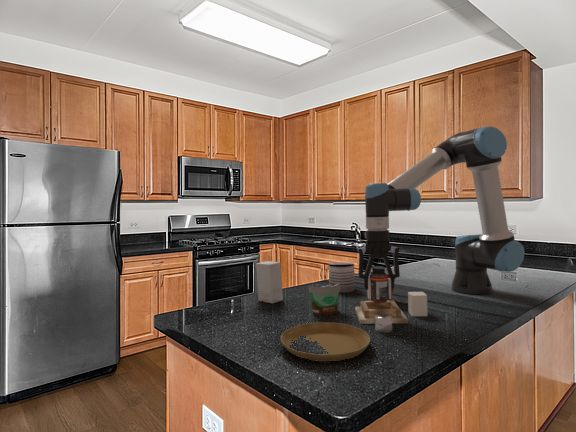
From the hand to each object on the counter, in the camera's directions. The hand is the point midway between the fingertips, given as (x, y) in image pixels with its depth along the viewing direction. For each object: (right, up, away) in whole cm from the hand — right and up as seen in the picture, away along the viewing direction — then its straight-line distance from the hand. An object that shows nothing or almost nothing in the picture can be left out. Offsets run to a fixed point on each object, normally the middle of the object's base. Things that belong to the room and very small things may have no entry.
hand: (379, 298), depth 127 cm
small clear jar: (-2, -7, -13) cm, 14 cm away
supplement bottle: (0, -1, 0) cm, 1 cm away
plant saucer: (-21, -9, -24) cm, 33 cm away
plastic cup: (+7, -5, +20) cm, 22 cm away
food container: (-16, -7, +6) cm, 19 cm away
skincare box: (-38, -7, +25) cm, 46 cm away
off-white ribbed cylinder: (-7, -5, +40) cm, 41 cm away
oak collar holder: (0, -6, 0) cm, 6 cm away
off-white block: (+13, -6, +1) cm, 15 cm away
